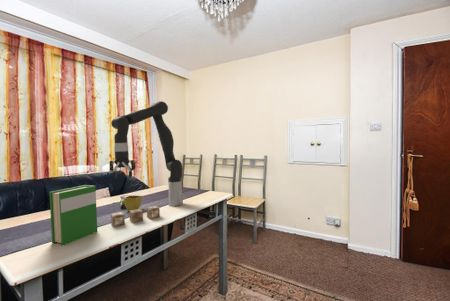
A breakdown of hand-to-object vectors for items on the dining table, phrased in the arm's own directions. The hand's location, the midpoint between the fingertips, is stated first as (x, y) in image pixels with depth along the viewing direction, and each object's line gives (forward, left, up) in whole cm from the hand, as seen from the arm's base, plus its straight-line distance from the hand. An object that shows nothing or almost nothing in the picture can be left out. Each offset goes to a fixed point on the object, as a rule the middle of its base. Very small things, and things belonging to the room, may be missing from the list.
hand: (122, 177), depth 136 cm
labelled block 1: (+5, +7, -25) cm, 27 cm away
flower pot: (-9, -17, -25) cm, 32 cm away
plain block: (-5, +7, -25) cm, 27 cm away
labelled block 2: (-15, +7, -25) cm, 30 cm away
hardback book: (+25, +13, -25) cm, 38 cm away
